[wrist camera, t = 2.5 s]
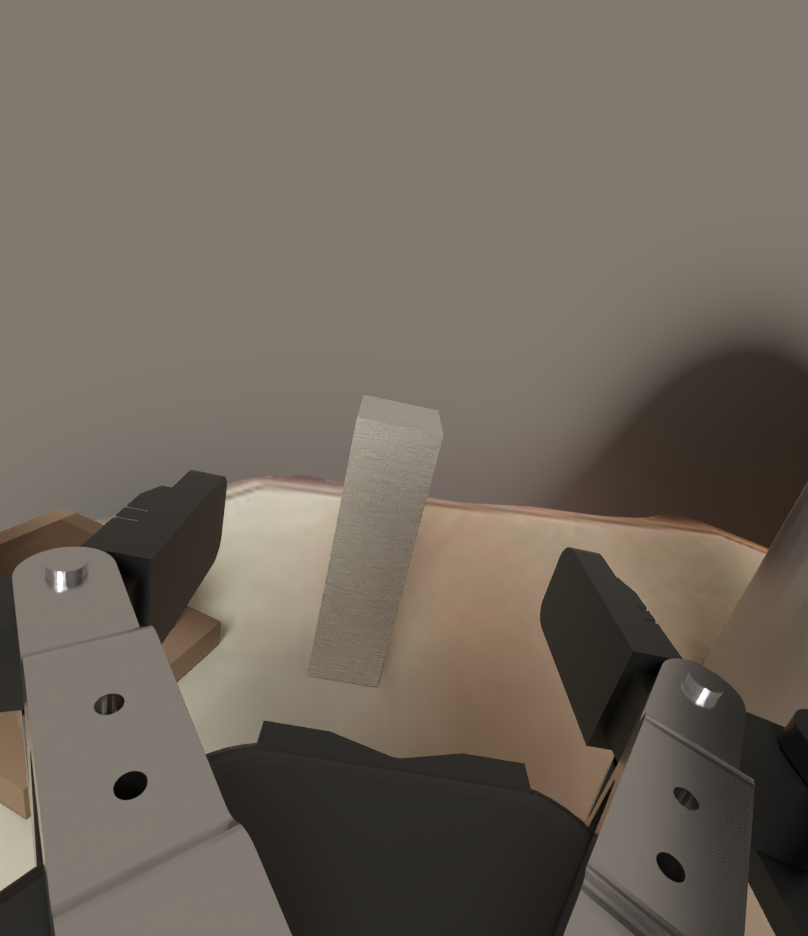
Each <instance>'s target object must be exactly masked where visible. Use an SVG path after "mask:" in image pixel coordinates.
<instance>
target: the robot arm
mask: <svg viewBox="0 0 808 936" xmlns="http://www.w3.org/2000/svg"><path fill="white" fill-rule="evenodd" d="M226 489H227V480H226V477H224V476H219V475H214V474H210V473H205V472H200V471H195V470H190V471H189V472H188V473H187V474H186V475H185V476H184V477H183V478H182V479H181V480H180V481H178V482H177V484H175V485H174V486H173V487H172V488H170V487H165V486H160V487H157V488H154V489H152V490H149V491H146V492H144V493H141V494H140V495H138V496H137V497H136V498H135V499H134V500H133V501H132V502H131V503H129V504H128V505H127V508H124V509H122V510H121V511H120V512H119V513H118V514H117V515H116V517H115V518H112V519H111V520H110V521H109V522H107V523H106V524H105V525H104V526H103V527H102V528H101V529H99V530H98V531H97V532H96V533H95V534H94V535H93V536H91V537H90V538H89V539H88V540H87V541H86V542H84V543H83V544H82V545H81V546H80V547H61V548H55V549H51V550H47V551H43V552H40V553H37V554H35V555H33V556H31V557H29V558H27V559H26V560H24V561H23V562H21V563H20V564H19V565H18V566H17V567H16V569H15V570H14V572H13V574H11V575H0V712H8V711H18V710H21V719H22V729H23V739H24V749H25V760H26V770H27V780H28V790H29V800H30V811H31V822H32V835H33V847H34V859H35V867H34V868H33V869H32V870H30V871H29V872H27V873H26V874H24V875H23V876H22V877H20V878H19V879H17V880H16V881H14V882H13V883H12V884H10V885H9V886H7V887H6V888H4V889H3V890H2V891H0V936H744V931H745V917H746V903H747V889H748V883H749V884H750V886H751V888H752V890H753V892H754V894H755V896H756V898H757V900H758V902H759V904H760V906H761V908H762V910H763V912H764V914H765V916H766V918H767V920H768V922H769V924H770V925H771V927H772V929H773V931H774V933H775V935H776V936H808V482H807V484H806V486H805V488H804V489H803V491H802V493H801V495H800V496H799V498H798V500H797V501H796V503H795V505H794V507H793V508H792V510H791V512H790V514H789V515H788V517H787V519H786V521H785V523H784V524H783V526H782V528H781V530H780V531H779V533H778V535H777V536H776V538H775V540H774V542H773V544H772V545H771V547H770V548H769V550H768V552H767V554H766V555H765V557H764V559H763V561H762V562H761V564H760V566H759V568H758V569H757V571H756V573H755V575H754V576H753V578H752V580H751V582H750V583H749V585H748V587H747V589H746V590H745V592H744V594H743V595H742V597H741V599H740V601H739V602H738V604H737V606H736V608H735V609H734V611H733V613H732V615H731V616H730V618H729V620H728V622H727V623H726V625H725V626H724V628H723V630H722V632H721V633H720V635H719V637H718V639H717V640H716V642H715V644H714V646H713V648H712V649H711V651H710V653H709V655H708V656H707V658H706V660H705V661H704V663H703V665H702V666H701V665H699V664H697V663H694V662H691V661H688V660H684V659H682V657H681V656H680V655H679V653H678V652H677V650H676V649H675V648H674V646H673V645H672V643H671V642H670V640H669V639H668V638H667V636H666V635H665V633H664V632H663V631H662V629H661V628H660V626H659V625H658V624H656V623H655V619H654V618H653V616H652V615H651V614H650V612H649V611H646V607H645V605H644V604H643V602H642V601H641V599H640V598H639V597H638V595H637V594H636V593H635V592H634V591H633V590H632V589H631V588H630V587H628V586H627V585H626V584H625V583H624V582H622V581H621V580H620V579H619V578H616V576H615V575H614V573H613V572H612V570H611V569H610V567H609V566H608V564H607V563H606V561H605V560H604V558H603V557H602V556H601V555H600V554H599V553H594V552H589V551H584V550H579V549H574V548H569V547H568V548H566V549H565V550H564V551H563V552H562V554H561V556H560V558H559V560H558V563H557V566H556V568H555V571H554V573H553V576H552V578H551V581H550V583H549V586H548V588H547V591H546V594H545V596H544V599H543V601H542V605H541V612H540V622H541V627H542V630H543V633H544V635H545V638H546V640H547V643H548V646H549V648H550V651H551V654H552V656H553V659H554V662H555V664H556V667H557V669H558V672H559V675H560V677H561V680H562V683H563V685H564V688H565V690H566V693H567V696H568V698H569V701H570V704H571V706H572V709H573V711H574V714H575V717H576V719H577V722H578V725H579V727H580V730H581V732H582V735H583V738H584V740H585V743H586V746H591V747H597V748H603V749H609V750H612V751H613V754H614V757H613V759H612V761H611V763H610V765H609V767H608V769H607V771H606V773H605V775H604V778H603V780H602V782H601V785H600V787H599V789H598V792H597V794H596V796H595V798H594V801H593V803H592V805H591V808H590V810H589V812H588V815H587V817H586V819H585V822H583V821H582V820H580V819H579V818H578V817H577V816H575V815H574V814H573V813H571V812H570V811H569V810H568V809H566V808H565V807H563V806H562V805H560V804H559V803H557V802H556V801H554V800H553V799H551V798H549V797H547V796H545V795H543V794H542V793H540V792H538V791H535V790H533V789H531V788H530V784H529V780H528V776H527V772H526V768H525V764H523V763H517V762H511V761H505V760H499V759H493V758H487V757H481V756H475V755H469V754H451V755H439V756H427V757H415V758H394V757H391V756H388V755H386V754H383V753H381V752H378V751H376V750H374V749H371V748H369V747H366V746H364V745H361V744H359V743H357V742H354V741H352V740H349V739H347V738H344V737H342V736H340V735H337V734H335V733H332V732H329V731H323V730H317V729H311V728H305V727H299V726H293V725H287V724H281V723H275V722H269V721H264V722H263V725H262V729H261V732H260V735H259V738H258V742H257V743H252V744H243V745H237V746H232V747H227V748H224V749H221V750H217V751H214V752H211V753H208V754H206V755H205V752H204V750H203V747H202V745H201V742H200V740H199V737H198V735H197V732H196V730H195V727H194V725H193V722H192V720H191V717H190V715H189V712H188V710H187V707H186V705H185V702H184V700H183V697H182V695H181V692H180V690H179V687H178V685H177V682H176V680H175V677H174V675H173V672H172V670H171V667H170V665H169V662H168V660H167V657H166V655H165V652H164V650H163V647H162V643H163V642H164V640H165V639H166V637H167V636H168V634H169V632H170V631H171V629H172V628H173V626H174V625H175V623H176V621H177V620H178V618H179V617H180V615H181V614H182V612H183V610H184V609H185V607H186V606H187V604H188V603H189V601H190V599H191V598H192V596H193V595H194V593H195V592H196V590H197V588H198V587H199V585H200V584H201V582H202V581H203V579H204V577H205V576H206V574H207V573H208V571H209V570H210V568H211V566H212V565H213V563H214V561H215V559H216V556H217V553H218V550H219V546H220V542H221V535H222V526H223V517H224V508H225V499H226Z"/></svg>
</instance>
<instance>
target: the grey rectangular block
mask: <svg viewBox="0 0 808 936" xmlns="http://www.w3.org/2000/svg"><path fill="white" fill-rule="evenodd" d="M442 439H443V431H442V426H441V422H440V417H439V412H438V410H433V409H428V408H424V407H419V406H414V405H409V404H405V403H400V402H396V401H391V400H386V399H382V398H376V397H372V396H368V395H364V396H363V400H362V403H361V406H360V409H359V413H358V416H357V420H356V426H355V431H354V436H353V441H352V446H351V452H350V457H349V462H348V468H347V473H346V478H345V483H344V488H343V493H342V499H341V504H340V509H339V514H338V520H337V525H336V530H335V535H334V540H333V546H332V551H331V556H330V561H329V567H328V572H327V577H326V582H325V587H324V593H323V598H322V603H321V608H320V613H319V619H318V624H317V629H316V634H315V640H314V645H313V650H312V655H311V660H310V666H309V671H308V676H313V677H319V678H325V679H331V680H337V681H343V682H349V683H355V684H360V685H366V686H372V687H377V686H378V682H379V678H380V674H381V670H382V667H383V663H384V659H385V655H386V651H387V648H388V644H389V640H390V636H391V632H392V629H393V625H394V621H395V617H396V613H397V610H398V606H399V602H400V598H401V594H402V591H403V587H404V583H405V579H406V575H407V572H408V568H409V564H410V560H411V556H412V553H413V549H414V545H415V541H416V537H417V534H418V530H419V526H420V522H421V518H422V515H423V511H424V507H425V503H426V499H427V495H428V492H429V488H430V484H431V480H432V477H433V473H434V469H435V465H436V461H437V458H438V454H439V450H440V446H441V442H442Z"/></svg>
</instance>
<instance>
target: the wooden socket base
mask: <svg viewBox="0 0 808 936" xmlns="http://www.w3.org/2000/svg"><path fill="white" fill-rule="evenodd" d="M103 526H104V525H102V524H100V523H97V522H95V521H93V520H91V519H89V518H86V517H84V516H81V515H79V514H77V513H75V512H72V511H71V510H68V509H66V508H61V509H59V510H56V511H54V512H51V513H48V514H46V515H43V516H41V517H38V518H36V519H33V520H30V521H28V522H25V523H23V524H20V525H18V526H15V527H12V528H10V529H7V530H5V531H2V532H0V575H11V574H13V572H14V570H15V569H16V567H17V566H18V565H19V564H20V563H21V562H23V561H24V560H26V559H27V558H29V557H31V556H33V555H35V554H37V553H40V552H43V551H47V550H51V549H55V548H61V547H80V546H81V545H82V544H83V543H84V542H86V541H87V540H88V539H89V538H90V537H91V536H93V535H94V534H95V533H96V532H97V531H98V530H99V529H101V528H102V527H103ZM220 623H221V622H220V621H218V620H216V619H214V618H211V617H209V616H207V615H205V614H203V613H201V612H199V611H197V610H195V609H192V608H190V607H188V606H186V607H185V609H184V610H183V612H182V614H181V615H180V617H179V618H178V620H177V621H176V623H175V625H174V626H173V628H172V629H171V631H170V632H169V634H168V636H167V637H166V639H165V640H164V642H163V643H162V647H163V650H164V652H165V655H166V657H167V660H168V662H169V665H170V667H171V670H172V672H173V675H174V677H175V680H176V682H178V681H179V680H180V679H181V678H182V677H183V676H184V675H185V674H186V673H188V672H189V671H190V670H191V669H192V668H193V667H194V666H195V665H196V664H197V663H199V662H200V661H201V660H202V659H203V658H204V657H205V656H206V655H207V654H208V653H210V652H211V651H212V650H213V649H214V648H215V647H216V646H217V645H218V643H219V633H220ZM0 803H2V804H3V805H5V806H6V807H8V808H9V809H11V810H12V811H14V812H16V813H17V814H19V815H20V816H22V817H23V818H25V819H27V818H28V817H29V816H30V815H31V811H30V800H29V790H28V780H27V770H26V760H25V749H24V739H23V729H22V719H21V710H18V711H8V712H0Z"/></svg>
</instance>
